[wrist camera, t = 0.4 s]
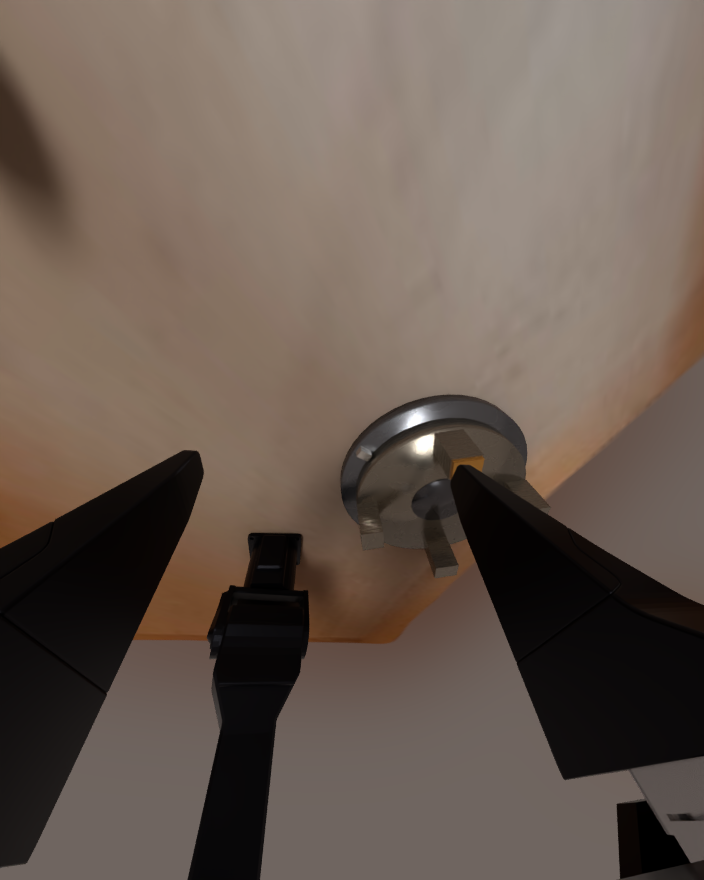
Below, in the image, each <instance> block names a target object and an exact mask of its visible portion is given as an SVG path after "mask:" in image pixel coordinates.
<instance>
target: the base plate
mask: <svg viewBox="0 0 704 880" xmlns="http://www.w3.org/2000/svg"><path fill="white" fill-rule="evenodd" d="M444 418H467V419H473V420H477V421H480V422H484V423H486V424H488V425H490V426H492V427H494V428H495V429H497V430H498V431H500V432H501V433H502V434H503V435H504V436H505V437H506V438H507V439H508V440H509V441H510V442H511V443H512V444H513V445H514V446H515V447H516V448H517V449H518V451H519V452H520V454H521V455H522V457H523V460H524V463H525V465H526V461H527V444H526V441H525V438H524V435H523V433H522V431H521V429H520V428H519V426H518V425H517V424H516V423H515V422H514V421H513V420H512V419H511V418H510V417H509V416H508V415H507V414H506V413H504V412H503V411H502V410H500V409H499V408H498V407H497V406H495V405H493V404H491V403H489V402H487V401H485V400H482V399H479V398H476V397H470V396H465V395H439V396H432V397H427V398H422V399H418V400H415V401H412V402H409V403H406V404H404V405H402V406H400V407H397V408H395V409H393V410H391V411H390V412H388V413H386V414H384V415H383V416H381V417H380V418H378V419H377V420H376V421H374V422H373V423H372V424H370V425H369V426H368V427H367V428H366V429H365V430H364V431H363V432H362V433H361V434H360V435H359V437H358V438H357V439H356V440H355V442H354V443H353V444H352V446H351V448H350V449H349V451H348V453H347V455H346V457H345V460H344V462H343V466H342V470H341V480H340V481H341V493H342V500H343V503H344V506H345V508H346V510H347V512H348V513H349V515H350V516H351V517H352V519H353V520H354V521H355V522H356V523H357V524H359V519H358V511H357V502H356V491H355V490H356V482H357V479H358V475H359V473H360V471H361V469H362V467H363V465H364V464H365V462H366V461H368V460H369V459H370V458H371V456H372V453H373V452H374V451H375V450H376V449H377V448H378V447H380V446H381V445H382V444H383V443H384V442H386V441H387V440H388V439H390V438H391V437H393V436H394V435H396V434H398V433H400V432H401V431H403V430H405V429H408V428H410V427H412V426H415V425H417V424H421V423H424V422H427V421H432V420H437V419H444Z"/></svg>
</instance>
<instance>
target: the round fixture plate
mask: <svg viewBox="0 0 704 880" xmlns="http://www.w3.org/2000/svg"><path fill="white" fill-rule="evenodd" d="M460 464H464V465H471V466H473V467H474V468H476V469H477V470H479V471H481V472H482V473H484V474H485V475H487V476H488V477H490V478H492V479H493V480H495V481H496V482H498V483H499V484H501V485H502V486H504V487H506V488H507V489H509V490H510V491H512V492H513V493H515V494H516V495H518V496H520V497H521V498H523V499H524V500H526V501H527V502H529V503H531V504H532V505H534V506H535V507H537V508H538V509H540V510H541V511H543V512H545V513H546V514H548V512H549V510H550V508H551V507H550V506H549V505H548V504H547V502H546V501H545V500H544V499H543V498H542V497H541V496H540V495H539V493H538V492H537V491H536V490H535V489H534V488H533V487H532V486H531V485H530V484H529V482H528V481H527V480H525V476H526V469H525V463H524V460H523V457H522V455H521V454H520V452H519V451H518V449H517V448H516V447H515V446H514V445H513V444H512V443H511V442H510V441H509V440H508V439H507V438H506V437H505V436H504V435H503V434H502V433H501V432H500V431H498V430H497V429H495V428H494V427H492V426H490V425H488V424H486V423H484V422H480V421H477V420H473V419H467V418H444V419H437V420H432V421H427V422H424V423H421V424H417V425H415V426H412V427H410V428H408V429H405V430H403V431H401V432H400V433H398V434H396V435H394V436H393V437H391V438H390V439H388V440H387V441H386V442H384V443H383V444H382V445H381V446H380V447H378V448H377V449H376V450H375V451H374V452H373V453H372V456H371V458H370V459H369V460H368V461H366V462H365V464H364V465H363V467H362V469H361V471H360V473H359V475H358V479H357V482H356V490H355V491H356V502H357V511H358V519H359V527H360V534H361V541H362V547H363V550H369V549H375V548H382V547H384V543H386V544H389V545H392V546H396V547H401V548H409V549H425V551H426V554H427V557H428V560H429V563H430V566H431V569H432V572H433V574H434V577H435V578H439V577H446V576H453V575H456V574H457V570H458V566H459V565H458V563H457V560H456V558H455V556H454V554H453V551H452V549H451V547H450V544H453V543H456V542H459V541H462V540H464V539H467V538H466V535H465V533H464V530H463V528H462V525H461V522H460V519H459V516H458V512H457V508H456V505H455V501H454V498H453V494H452V491H451V487H450V482H451V479H452V477H453V474H454V472H455V470H456V468H457V466H458V465H460Z"/></svg>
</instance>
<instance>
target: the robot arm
mask: <svg viewBox="0 0 704 880" xmlns="http://www.w3.org/2000/svg"><path fill="white" fill-rule="evenodd" d="M203 475H204V470H203V466H202V462H201V457H200V454H199V452H198V451H191V450H184V451H181V452H179V453H178V454H176V455H174V456H172V457H170V458H168V459H166V460H165V461H163V462H161V463H159V464H157V465H155V466H153V467H152V468H150V469H148V470H146V471H144V472H142V473H140V474H139V475H137V476H135V477H133V478H131V479H129V480H128V481H126V482H124V483H122V484H120V485H118V486H116V487H115V488H113V489H111V490H109V491H107V492H105V493H103V494H102V495H100V496H98V497H96V498H94V499H92V500H90V501H89V502H87V503H85V504H83V505H81V506H79V507H77V508H76V509H74V510H72V511H70V512H68V513H66V514H64V515H63V516H61V517H59V518H57V519H55V521H54V522H49V523H48V524H46V525H44V526H42V527H40V528H38V529H37V530H35V531H33V532H31V533H29V534H27V535H25V536H23V537H21V538H20V539H18V540H16V541H14V542H12V543H10V544H8V545H6V546H4V547H2V548H0V868H2V867H8V866H15V865H21V864H26V863H27V861H28V860H29V858H30V856H31V854H32V852H33V850H34V848H35V846H36V844H37V842H38V840H39V838H40V836H41V834H42V832H43V830H44V828H45V825H46V823H47V821H48V819H49V817H50V815H51V812H52V810H53V808H54V806H55V804H56V802H57V800H58V798H59V796H60V793H61V791H62V789H63V787H64V785H65V783H66V781H67V779H68V776H69V774H70V772H71V770H72V768H73V766H74V764H75V762H76V759H77V757H78V755H79V753H80V751H81V748H82V747H83V745H84V742H85V740H86V738H87V736H88V734H89V732H90V730H91V728H92V725H93V723H94V721H95V719H96V717H97V715H98V713H99V711H100V708H101V706H102V704H103V702H104V700H105V698H106V696H107V692H108V691H109V689H110V687H111V684H112V682H113V680H114V678H115V676H116V674H117V672H118V670H119V667H120V665H121V663H122V661H123V659H124V657H125V655H126V653H127V650H128V648H129V646H130V644H131V642H132V640H133V638H134V636H135V633H136V631H137V629H138V627H139V625H140V623H141V621H142V619H143V616H144V614H145V612H146V610H147V608H148V606H149V604H150V602H151V599H152V597H153V595H154V593H155V591H156V589H157V587H158V585H159V582H160V580H161V578H162V576H163V574H164V572H165V570H166V568H167V565H168V563H169V561H170V559H171V557H172V555H173V553H174V551H175V548H176V546H177V544H178V542H179V540H180V538H181V536H182V534H183V531H184V529H185V527H186V525H187V523H188V520H189V518H190V515H191V512H192V509H193V506H194V503H195V500H196V497H197V494H198V491H199V488H200V485H201V482H202V479H203ZM450 487H451V491H452V494H453V498H454V501H455V505H456V508H457V512H458V516H459V519H460V522H461V525H462V528H463V530H464V533H465V535H466V538H467V540H468V543H469V545H470V548H471V550H472V553H473V555H474V558H475V560H476V563H477V565H478V568H479V570H480V573H481V575H482V577H483V580H484V583H485V585H486V588H487V590H488V593H489V595H490V598H491V600H492V603H493V605H494V608H495V610H496V612H497V615H498V618H499V620H500V623H501V625H502V628H503V630H504V633H505V635H506V638H507V640H508V643H509V645H510V648H511V650H512V652H513V655H514V658H515V660H516V662H517V666H518V668H519V671H520V673H521V676H522V678H523V681H524V683H525V686H526V688H527V691H528V693H529V696H530V698H531V701H532V703H533V706H534V708H535V711H536V713H537V716H538V718H539V721H540V723H541V726H542V728H543V731H544V733H545V736H546V738H547V741H548V744H549V746H550V748H551V751H552V754H553V756H554V759H555V761H556V764H557V766H558V768H559V771H560V773H561V775H562V777H563V779H564V780H569V779H575V778H581V777H588V776H594V775H601V774H606V773H613V772H620V771H627V770H628V771H629V772H630V774H631V776H632V777H633V779H634V781H635V783H636V784H637V786H638V788H639V789H640V791H641V793H642V794H643V796H644V797H645V799H641V800H636V801H630V802H624V803H619V804H617V822H618V841H619V864H620V879H619V880H704V605H702V604H700V603H697V602H695V601H693V600H691V599H688V598H686V597H684V596H682V595H680V594H678V593H677V592H675V591H673V590H671V589H670V588H668V587H666V586H665V585H662V584H661V583H660V582H657V581H656V580H654V579H653V578H651V577H649V576H647V575H646V574H644V573H642V572H641V571H639V570H637V569H635V568H634V567H632V566H630V565H628V564H627V563H625V562H623V561H622V560H620V559H618V558H617V557H615V556H613V555H612V554H610V553H608V552H606V551H605V550H603V549H601V548H600V547H598V546H597V545H595V544H593V543H592V542H590V541H588V540H587V539H585V538H584V537H582V536H581V535H579V534H577V533H576V532H574V531H573V530H571V529H569V528H567V527H566V526H565V525H563V524H562V523H560V522H559V521H557V520H556V519H554V518H552V517H551V516H549V515H548V514H546V513H545V512H543V511H541V510H540V509H538V508H537V507H535V506H534V505H532V504H531V503H529V502H527V501H526V500H524V499H523V498H521V497H520V496H518V495H516V494H515V493H513V492H512V491H510V490H509V489H507V488H506V487H504V486H502V485H501V484H499V483H498V482H496V481H495V480H493V479H492V478H490V477H488V476H487V475H485V474H484V473H482V472H481V471H479V470H477V469H476V468H474V467H473V466H471V465H464V464H460V465H458V466H457V468H456V470H455V472H454V474H453V477H452V479H451V482H450ZM248 545H249V553H250V562H249V566H248V570H247V574H246V578H245V583H244V587H236V586H235V585H230V587H229V590H228V591H227V592H224V593H222V596H221V599H220V602H219V606H218V609H217V611H216V614H215V617H214V619H213V622H212V624H211V627H210V629H209V632H208V635H207V639H208V641H209V643H210V649H211V652H210V659H216V663H215V667H214V672H213V679H212V695H213V700H214V705H215V710H216V714H217V719H218V724H219V728H220V735H219V739H218V744H217V748H216V753H215V758H214V762H213V766H212V771H211V776H210V780H209V785H208V789H207V794H206V798H205V803H204V808H203V812H202V817H201V821H200V826H199V830H198V835H197V839H196V844H195V849H194V853H193V858H192V862H191V867H190V872H189V876H188V880H260V873H261V864H262V854H263V844H264V834H265V824H266V815H267V805H268V796H269V787H270V777H271V766H272V757H273V747H274V738H275V729H276V720H277V717H278V715H279V713H280V711H281V709H282V707H283V706H284V704H285V702H286V700H287V698H288V696H289V693H290V692H291V690H292V688H293V686H294V684H295V682H296V680H297V678H298V676H299V673H300V668H301V659H304V657H305V655H306V651H307V645H308V638H309V601H308V590H303V591H296V590H294V583H295V572H296V565H299V564H300V552H301V535H300V534H264V533H251V534H249V535H248Z"/></svg>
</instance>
